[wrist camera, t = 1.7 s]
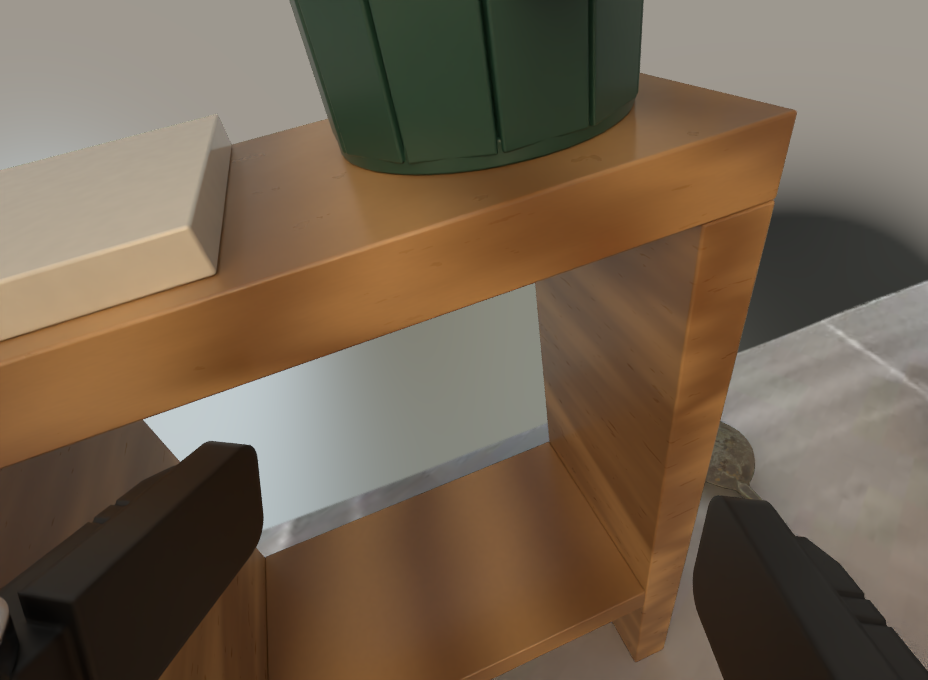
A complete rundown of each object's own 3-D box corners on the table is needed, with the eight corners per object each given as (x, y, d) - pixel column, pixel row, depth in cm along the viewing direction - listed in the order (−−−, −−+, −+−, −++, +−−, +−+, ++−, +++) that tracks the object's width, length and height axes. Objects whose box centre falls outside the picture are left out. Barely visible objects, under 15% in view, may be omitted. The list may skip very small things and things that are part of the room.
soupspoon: (706, 416, 43) (638, 443, 42) (709, 389, 41) (637, 416, 40) (985, 701, 25) (875, 753, 25) (1015, 679, 23) (896, 734, 23)
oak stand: (580, 512, 37) (565, 53, 18) (664, 648, 30) (800, 109, 10) (296, 636, 34) (-111, 236, 14) (309, 826, 26) (-523, 528, 7)
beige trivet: (233, 145, 16) (217, 113, 15) (217, 275, 9) (188, 224, 8) (-79, 230, 14) (-109, 198, 14) (-383, 463, 7) (-474, 419, 7)
